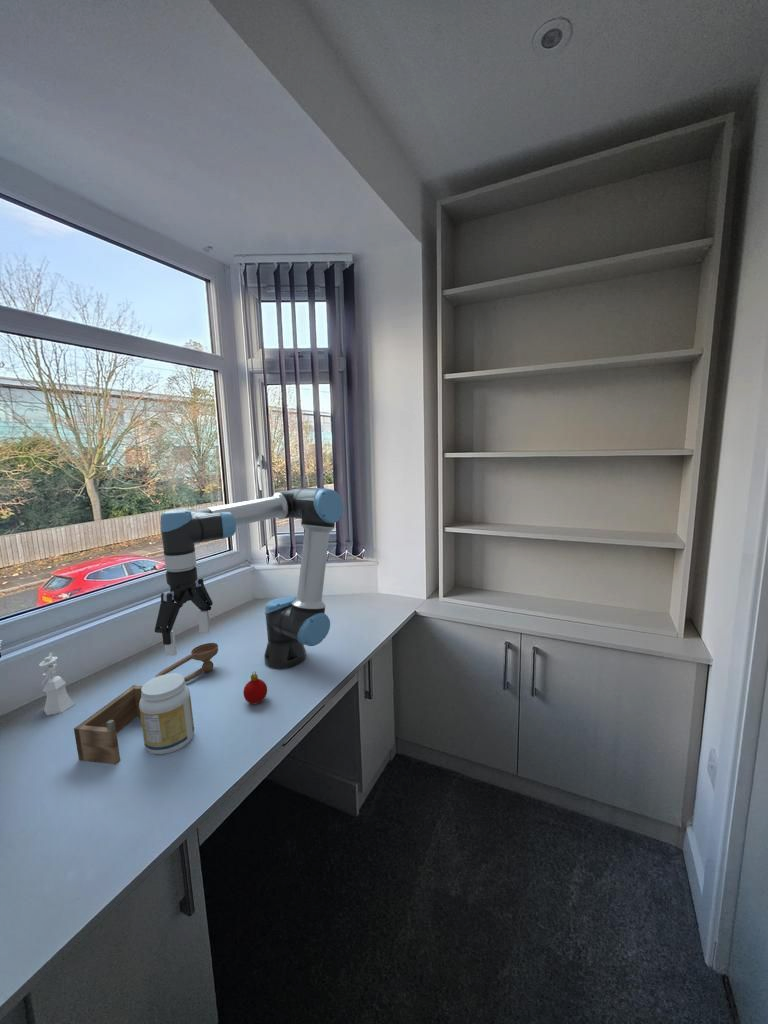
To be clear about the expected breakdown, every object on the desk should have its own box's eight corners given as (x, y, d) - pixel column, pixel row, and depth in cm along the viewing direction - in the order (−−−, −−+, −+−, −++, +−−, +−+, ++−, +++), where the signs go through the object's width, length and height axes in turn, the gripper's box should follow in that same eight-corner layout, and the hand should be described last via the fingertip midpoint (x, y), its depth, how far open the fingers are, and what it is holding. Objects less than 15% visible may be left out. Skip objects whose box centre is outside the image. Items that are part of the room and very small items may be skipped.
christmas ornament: (258, 710, 127) (256, 679, 126) (239, 706, 130) (236, 675, 128) (272, 697, 134) (270, 667, 133) (254, 693, 136) (251, 664, 135)
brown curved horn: (144, 688, 145) (185, 694, 137) (139, 664, 144) (180, 669, 136) (198, 655, 166) (236, 659, 159) (194, 634, 165) (233, 637, 158)
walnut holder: (169, 715, 127) (164, 680, 125) (115, 764, 107) (109, 723, 105) (137, 712, 129) (132, 677, 127) (78, 760, 109) (72, 719, 107)
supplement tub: (160, 726, 122) (153, 671, 119) (202, 726, 121) (196, 670, 119) (134, 757, 110) (126, 697, 107) (181, 756, 109) (173, 696, 107)
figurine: (47, 705, 134) (38, 652, 132) (77, 698, 137) (69, 646, 135) (39, 717, 128) (29, 662, 125) (71, 710, 131) (62, 656, 128)
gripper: (198, 556, 126) (205, 624, 129) (132, 581, 102) (142, 664, 105) (221, 556, 124) (227, 625, 127) (158, 583, 100) (168, 666, 103)
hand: (188, 643), depth 116 cm, fingers open, 13 cm apart
